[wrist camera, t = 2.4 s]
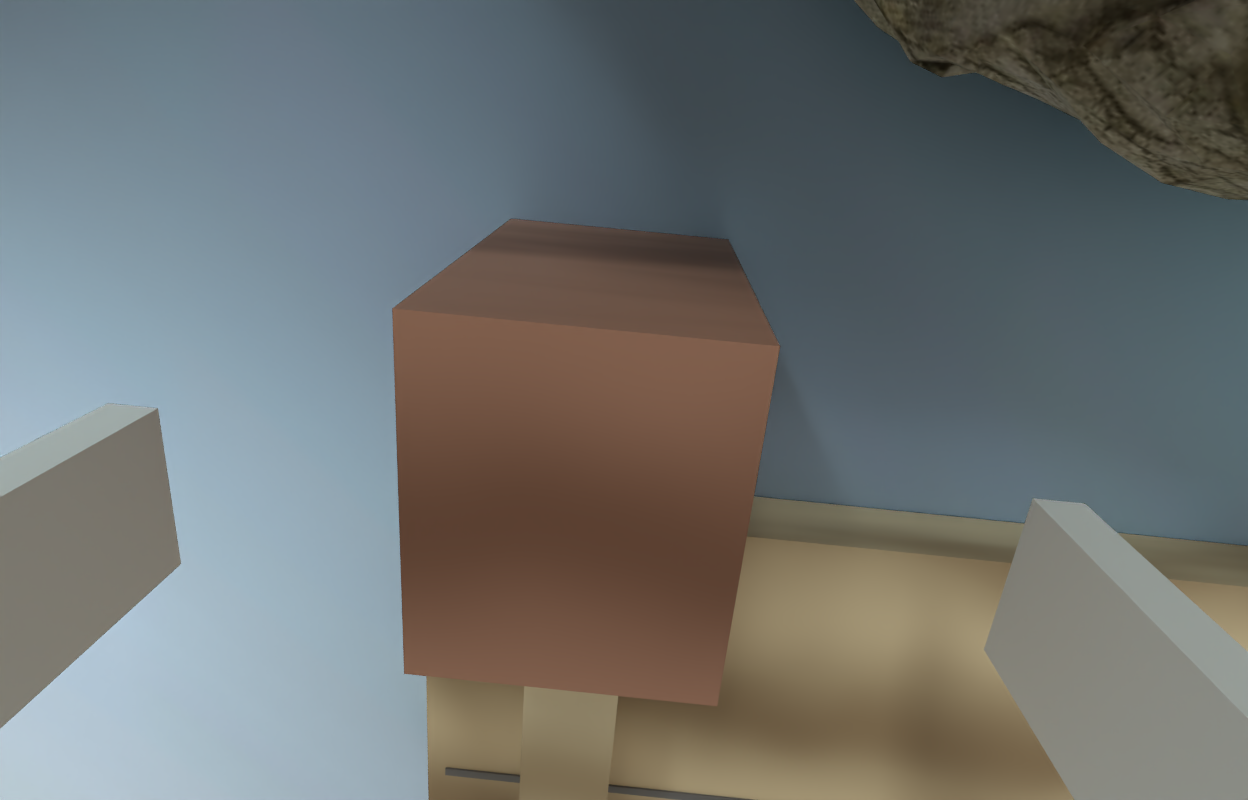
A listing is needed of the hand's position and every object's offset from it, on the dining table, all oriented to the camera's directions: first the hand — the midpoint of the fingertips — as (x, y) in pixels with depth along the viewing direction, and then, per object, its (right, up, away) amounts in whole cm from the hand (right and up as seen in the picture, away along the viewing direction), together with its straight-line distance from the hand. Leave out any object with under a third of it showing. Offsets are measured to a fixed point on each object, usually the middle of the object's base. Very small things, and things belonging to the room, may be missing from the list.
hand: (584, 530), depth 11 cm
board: (+7, -5, +10) cm, 13 cm away
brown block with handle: (0, -2, +9) cm, 9 cm away
